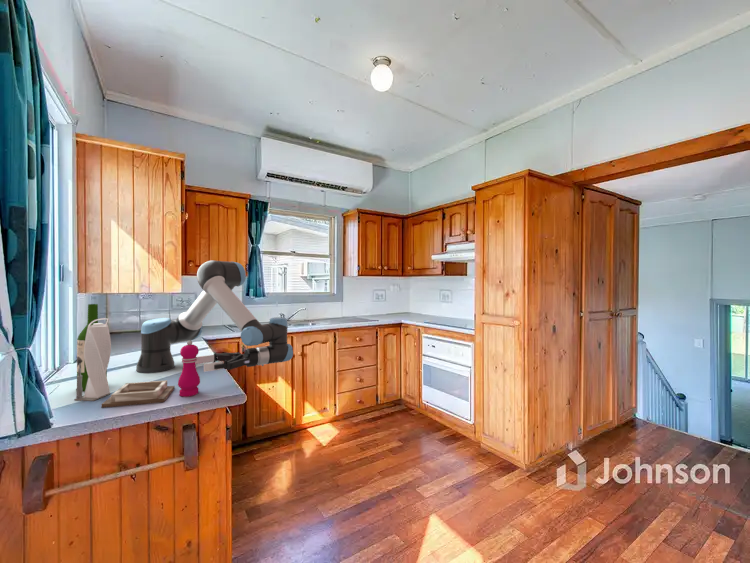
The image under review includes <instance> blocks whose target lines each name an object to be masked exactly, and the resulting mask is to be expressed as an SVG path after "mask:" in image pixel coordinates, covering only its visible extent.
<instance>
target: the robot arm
mask: <svg viewBox="0 0 750 563" xmlns="http://www.w3.org/2000/svg"><path fill="white" fill-rule="evenodd" d="M246 278H247V276H246V270H245V267H244V266H243V265H242V264H241V263H240V262H235V261H225V260H224V261H223V260H207V261H206V262H203V263H202V264H201V265H200V266H199V267H198V268H197V273H196V279H197V282H198V283H197V284H199V286H200V289H202V291H201V293H200V294H199V295H198V296H197V298H196V299H195V300H194V301H193V303H192V304H191V305H190V307H189V308H188V309H187V310H186V311H184V312H181V313H180V314H179V315H178V316H177V318H176V319H171V318H169V317H160V318H159V317H158V318H153V319H148V320H146V321H144V322H143V323H142V325H141V329H140V335H141V336H140V337H141V339H140V341H141V342H140V344H141V347H140V352H141V353H140V356H139V359H138V361H137V364H136V372H138V373H147V374H149V373H160V372H164V371H169V370H171V369H174V368H175V360H174V357H173V355H172V351H171V345H173V344H178V343H185V342H188V341H189V340H190V341H192V342H193V341H194V340H196V339H198V338H199V337H200V336H201V335H202V332H203V321H204V319H205V318H206V317H207V316H208V314H209V313H211V311H212V310H213V308H214V307H215V306H216V305H217V304H218V306H220V308H221V309H222V310H223V312H225V314H226V315H227V316H228V317H229V319H230V320H231V321H232V322H233V323H234V325H236V327H237V328H238V329H239V331H240V339H241V343H243V344H244V345H245V346H247V348H246V349H245V350H244V352H243V353H241V352H239V351H237V352H214V353H213V354H209V355H201V356H196V357H197V361H196V365H200V364H203V372H204V373H205V372H213V371H219V370H223V369H224V370H227V371H231V370H233V369H238V368H240V367H244V366H246V367H247V368H252V367H256V366H261V367H264V365H270V364H271V365H272V364H277V363H284V362H288V361H291V360H292V358H293V356H294V350H293V346H292V345H291V344H290V343H288V328H289V326H288V319H287V318H286V317H280V316H279V317H278V316H277V317H271V318H270V319H269V323H266V324H261V323H260V321H259V320H258V319H257V318H256V317H255V316H254V314H253V313H252V312H251V311H250V310H249V309H248V307H247V306H246V305H245V304H244V303H243V302H242V301H241V300H240V299H239V297H238V296H237V295H236V294H235V293H234V292H233V289H234V288H235V287H241V286H243V285H244V284H245V282H246ZM266 343H268V345H265V346H259V345H262V344H266ZM252 346H257V347H252ZM248 347H249V348H248ZM250 347H251V348H250Z"/></svg>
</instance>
